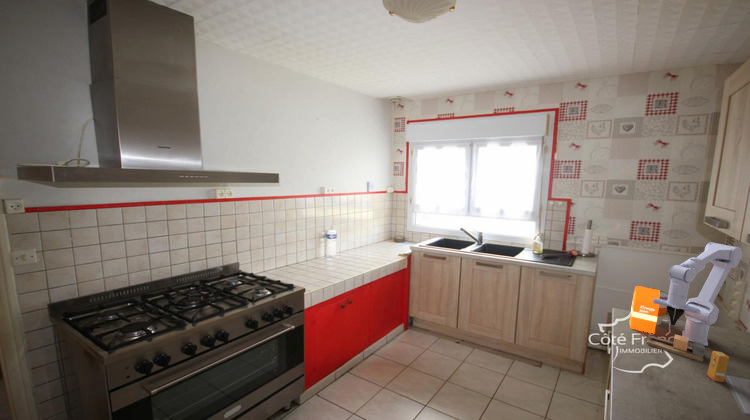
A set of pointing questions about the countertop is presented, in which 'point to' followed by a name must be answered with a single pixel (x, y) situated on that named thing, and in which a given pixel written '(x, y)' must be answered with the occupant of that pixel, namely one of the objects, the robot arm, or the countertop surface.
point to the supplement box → (717, 366)
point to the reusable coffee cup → (661, 306)
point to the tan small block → (680, 342)
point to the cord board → (667, 345)
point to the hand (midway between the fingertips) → (672, 324)
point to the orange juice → (644, 309)
